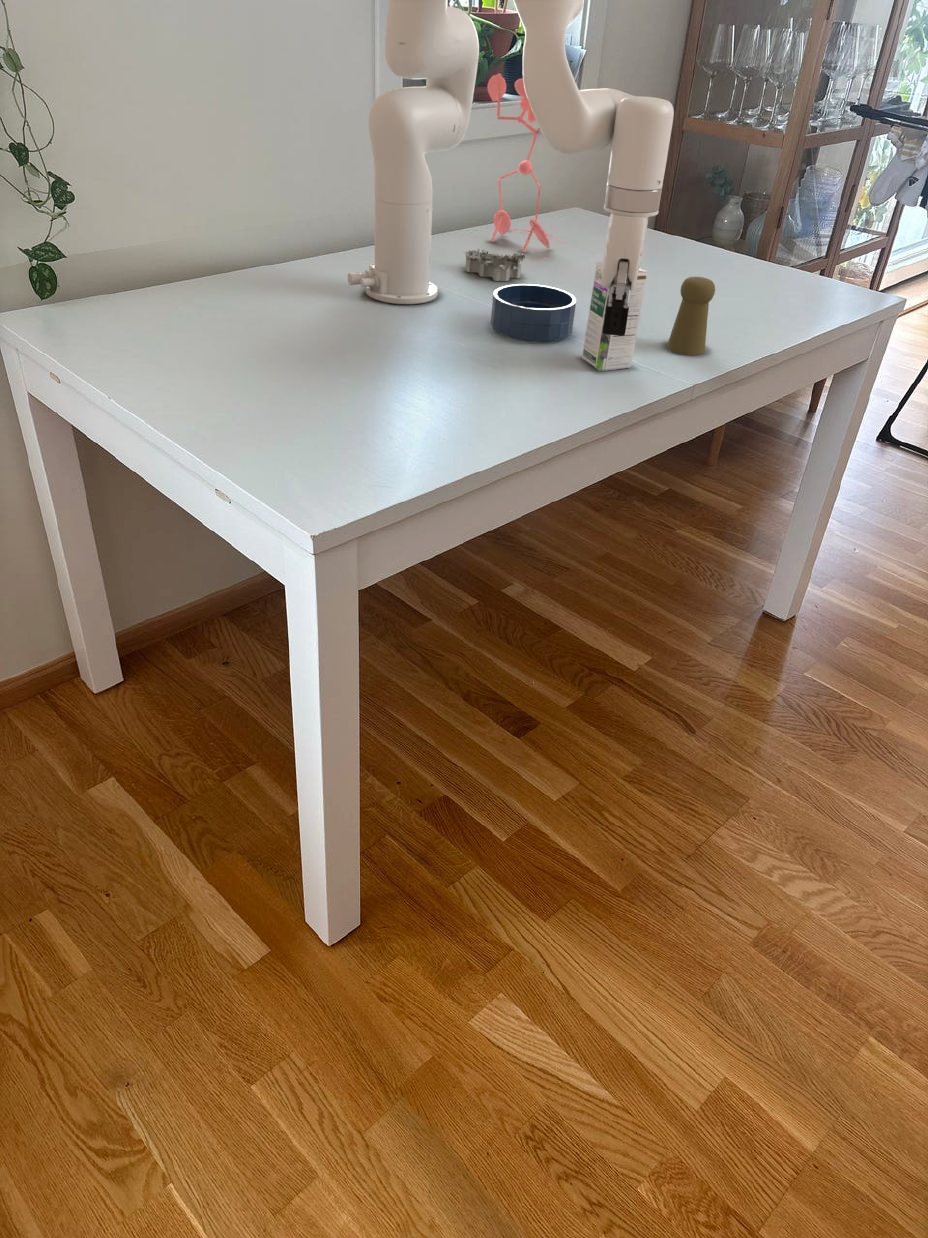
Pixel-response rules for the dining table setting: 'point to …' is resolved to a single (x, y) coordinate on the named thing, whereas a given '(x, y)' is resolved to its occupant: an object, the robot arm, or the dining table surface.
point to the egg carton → (494, 264)
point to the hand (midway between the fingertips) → (614, 323)
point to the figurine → (525, 167)
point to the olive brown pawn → (692, 317)
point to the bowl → (533, 312)
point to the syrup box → (597, 345)
